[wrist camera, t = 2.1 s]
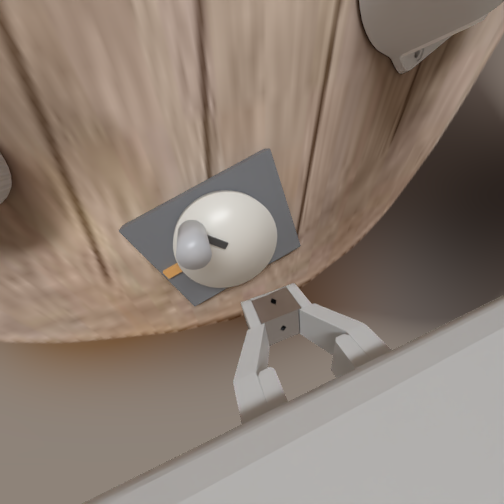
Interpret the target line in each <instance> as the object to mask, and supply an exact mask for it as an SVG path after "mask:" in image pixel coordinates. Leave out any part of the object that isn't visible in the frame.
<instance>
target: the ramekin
mask: <svg viewBox="0 0 504 504" xmlns="http://www.w3.org/2000/svg"><path fill="white" fill-rule="evenodd" d="M11 185H12V180H11V173H10V170H9V167H8V165H7V163H6V161H5V160H4V158H3V156H2V155H1V153H0V204H1V203H2V202H3V201H4V199H6V198H7V196H8V194H9V193H10V189H11Z"/></svg>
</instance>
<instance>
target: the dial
mask: <svg viewBox="0 0 504 504" xmlns="http://www.w3.org/2000/svg"><path fill="white" fill-rule="evenodd" d="M276 244H277V228H276V224H275V222H274V219H273V217H272V215H271V214H270V212H269V211H268V210H267V209H266V207H264V206H263V205H262V204H261V203H260V202H258V201H257V200H256V199H254V198H253V197H251V196H249V195H247V194H245V193H242V192H239V191H233V190H220V191H214V192H210V193H207V194H205V195H202V196H201V197H199V198H197V199H196V200H194V201H193V202H192V203H190V204H189V205H188V206H187V207H186V208H185V209H184V211H183V212H182V214H181V215H180V217H179V219H178V221H177V223H176V226H175V231H174V237H173V251H174V256H175V259H176V261H177V263H178V266H179V267H180V268H181V270H182V271H183V272H184V273H185V274H186V275H187V276H188V277H189V278H190V279H192V280H193V281H195V282H197V283H199V284H201V285H205V286H208V287H213V288H227V287H233V286H237V285H240V284H243V283H245V282H247V281H249V280H251V279H252V278H254V277H255V276H257V275H258V274H259V273H260V272H261V271H262V270H263V269H264V268H265V267H266V266H267V265H268V263H269V262H270V260H271V258H272V256H273V254H274V252H275V248H276Z"/></svg>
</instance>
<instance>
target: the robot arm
mask: <svg viewBox="0 0 504 504" xmlns="http://www.w3.org/2000/svg"><path fill="white" fill-rule="evenodd" d="M503 1H504V0H359V4H360V12H361V17H362V21H363V25H364V28H365V31H366V34H367V36H368V38H369V40H370V41H371V43H372V44H373V46H374V47H375V48H376V49H377V50H378V51H380V52H381V53H383V54H385V55H387V56H388V57H390V58H391V59H392V62H393V64H394V66H395V68H396V70H397V71H398V72H399V73H400V74H403V73H405V72H407V71H409V70H411V69H412V68H414V67H415V66H416V65H417V64H418V63H420V62H421V61H422V60H423V59H424V58H426V57H427V56H428V55H429V54H431V53H432V52H433V51H434V50H435V49H437V48H438V47H439V46H440V45H441V44H443V43H444V42H445V41H446V40H447V39H449V38H450V37H451V36H452V35H454V34H456V33H458V32H460V31H463V30H465V29H467V28H469V27H471V26H474V25H476V24H478V23H479V22H481V21H483V20H484V19H485V18H486V16H487V15H488V13H489V12H491V11H492V10H494V9H495V8H496V7H497V6H499V5H500V4H501V3H502V2H503ZM241 306H242V309H243V313H244V316H245V320H246V323H247V326H248V329H249V330H247V333H246V337H245V341H244V344H243V348H242V352H241V355H240V359H239V363H238V367H237V370H236V374H235V377H234V381H233V383H234V388H235V393H236V398H237V403H238V408H239V413H240V417H241V423H242V425H240V426H238V427H236V428H234V429H232V430H230V431H228V432H226V433H224V434H222V435H220V436H218V437H216V438H214V439H212V440H210V441H207V442H206V443H203V444H201V445H199V446H198V447H196V448H193V449H191V450H189V451H187V452H185V453H183V454H181V455H179V456H177V457H175V458H174V459H171V460H169V461H167V462H165V463H163V464H161V465H159V466H157V467H155V468H153V469H151V470H149V471H147V472H145V473H143V474H141V475H139V476H137V477H135V478H133V479H131V480H129V481H127V482H125V483H123V484H121V485H118V486H116V487H114V488H113V489H111V490H108V491H106V492H104V493H102V494H100V495H98V496H96V497H94V498H93V499H90V500H88V501H86V502H84V503H82V504H504V295H503V296H501V297H499V298H497V299H495V300H493V301H491V302H489V303H487V304H485V305H483V306H481V307H479V308H477V309H475V310H473V311H471V312H469V313H467V314H465V315H463V316H461V317H458V318H456V319H454V320H453V321H450V322H448V323H446V324H444V325H442V326H440V327H438V328H436V329H434V330H432V331H430V332H428V333H426V334H424V335H422V336H420V337H418V338H416V339H414V340H412V341H410V342H408V343H406V344H404V345H402V346H400V347H398V348H396V349H394V350H391V349H390V348H389V347H388V346H387V345H386V344H385V343H384V342H383V341H382V340H381V339H380V338H379V337H378V336H377V335H376V334H375V333H374V332H373V331H372V330H371V329H370V328H369V327H368V326H367V325H366V324H364V323H362V322H359V321H357V320H354V319H352V318H349V317H347V316H344V315H342V314H340V313H337V312H335V311H332V310H330V309H327V308H325V307H322V306H320V305H317V304H311V302H310V301H309V300H308V299H307V298H306V296H305V295H304V294H303V293H302V292H301V290H300V289H299V288H298V287H297V286H296V284H294V283H292V284H290V285H287V286H285V287H282V288H279V289H276V290H274V291H271V292H269V293H266V294H263V295H261V296H258V297H255V298H252V299H249V300H246V301H243V302H241ZM299 333H300V334H301V335H302V336H304V337H306V338H307V339H309V340H310V341H312V342H314V343H315V344H316V345H318V346H319V347H321V348H322V349H324V350H326V351H327V352H329V353H330V354H332V355H333V361H332V367H331V371H332V372H333V373H334V375H335V377H336V378H335V379H333V380H331V381H329V382H327V383H325V384H323V385H321V386H319V387H317V388H315V389H313V390H311V391H309V392H307V393H305V394H303V395H301V396H299V397H296V398H295V399H293V400H290V401H287V398H286V396H285V393H284V391H283V389H282V386H281V384H280V381H279V379H278V377H277V374H276V372H275V369H273V368H271V367H269V368H267V367H268V358H269V349H270V346H271V345H273V344H275V343H277V342H279V341H282V340H284V339H286V338H289V337H291V336H294V335H297V334H299Z"/></svg>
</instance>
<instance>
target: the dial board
mask: <svg viewBox="0 0 504 504" xmlns="http://www.w3.org/2000/svg"><path fill="white" fill-rule="evenodd" d="M220 190H233V191H239V192H242V193H245V194H247V195H249V196H251V197H253V198H254V199H256V200H257V201H258V202H260V203H261V204H262V205H263V206H264V207H266V209H267V210H268V211H269V212H270V214H271V215H272V217H273V219H274V222H275V224H276V228H277V244H276V248H275V252H274V254H273V256H272V258H271V260H270V262H269V263H268V264H270V263H272V262H274V261H275V260H277V259H279V258H281V257H282V256H284V255H286V254H288V253H289V252H291V251H293V250H295V249H296V248H298V247H300V243H299V239H298V236H297V233H296V230H295V227H294V224H293V220H292V217H291V214H290V211H289V208H288V204H287V201H286V198H285V195H284V192H283V189H282V185H281V182H280V179H279V176H278V173H277V170H276V166H275V163H274V160H273V157H272V154H271V151H270V149H263V150H261V151H259V152H257V153H256V154H254V155H252V156H250V157H248V158H246V159H244V160H243V161H241V162H239V163H237V164H235V165H233V166H232V167H230V168H228V169H226V170H224V171H222V172H220V173H219V174H217V175H215V176H213V177H211V178H209V179H208V180H206V181H204V182H202V183H200V184H198V185H196V186H195V187H193V188H191V189H189V190H187V191H185V192H184V193H182V194H180V195H178V196H176V197H174V198H172V199H171V200H169V201H167V202H165V203H163V204H161V205H160V206H158V207H156V208H154V209H152V210H150V211H148V212H147V213H145V214H143V215H141V216H139V217H137V218H136V219H134V220H132V221H130V222H128V223H126V224H124V225H123V226H122V227H121V228H120V230H119V232H120V233H121V234H122V235H123V236H124V237H125V238H126V239H127V240H128V241H129V242H130V243H131V244H132V245H133V246H134V247H135V248H136V249H137V250H138V251H139V252H140V253H141V254H142V255H143V256H144V257H145V258H146V259H147V260H148V261H149V262H150V263H151V264H152V265H153V266H154V267H155V268H156V269H157V270H159V271H160V272H161V273H162V274H163V275H164V276H165V277H166V278H167V279H168V280H169V281H170V282H171V283H172V284H173V285H174V286H175V287H176V288H177V289H178V290H179V291H180V292H181V293H182V294H183V295H184V296H185V297H186V298H187V299H188V300H189V301H190V302H191V303H192V304H193V305H194V306H197V305H198V304H200V303H202V302H204V301H205V300H207V299H209V298H211V297H212V296H214V295H216V294H218V293H219V292H221V291H223V290H225V289H226V288H213V287H208V286H205V285H201V284H199V283H197V282H195V281H193V280H192V279H190V278H189V277H188V276H187V275H186V274H185V273H184V272H183V271H182V270H181V268H180V267H179V266H178V263H177V261H176V259H175V256H174V251H173V237H174V231H175V226H176V223H177V221H178V219H179V217H180V215H181V214H182V212H183V211H184V209H185V208H186V207H187V206H188V205H189V204H190V203H192V202H193V201H194V200H196V199H197V198H199V197H201V196H202V195H205V194H207V193H210V192H214V191H220ZM227 288H228V287H227Z"/></svg>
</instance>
